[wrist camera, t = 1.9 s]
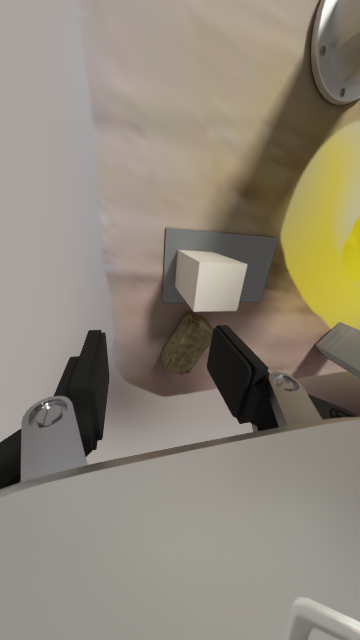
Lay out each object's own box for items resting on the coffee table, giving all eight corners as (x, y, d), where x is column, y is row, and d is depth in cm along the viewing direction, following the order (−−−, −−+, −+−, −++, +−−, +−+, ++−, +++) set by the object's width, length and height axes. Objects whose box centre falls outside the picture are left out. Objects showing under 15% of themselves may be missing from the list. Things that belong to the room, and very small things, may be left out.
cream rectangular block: (177, 249, 31) (199, 261, 22) (212, 251, 33) (247, 264, 23) (174, 286, 34) (193, 311, 24) (207, 286, 35) (236, 310, 26)
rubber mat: (165, 227, 30) (166, 227, 30) (277, 237, 35) (278, 237, 34) (162, 302, 35) (162, 302, 35) (259, 301, 40) (260, 302, 40)
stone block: (157, 355, 40) (161, 371, 36) (186, 308, 37) (194, 319, 33) (180, 363, 42) (187, 379, 38) (210, 319, 39) (220, 331, 35)
